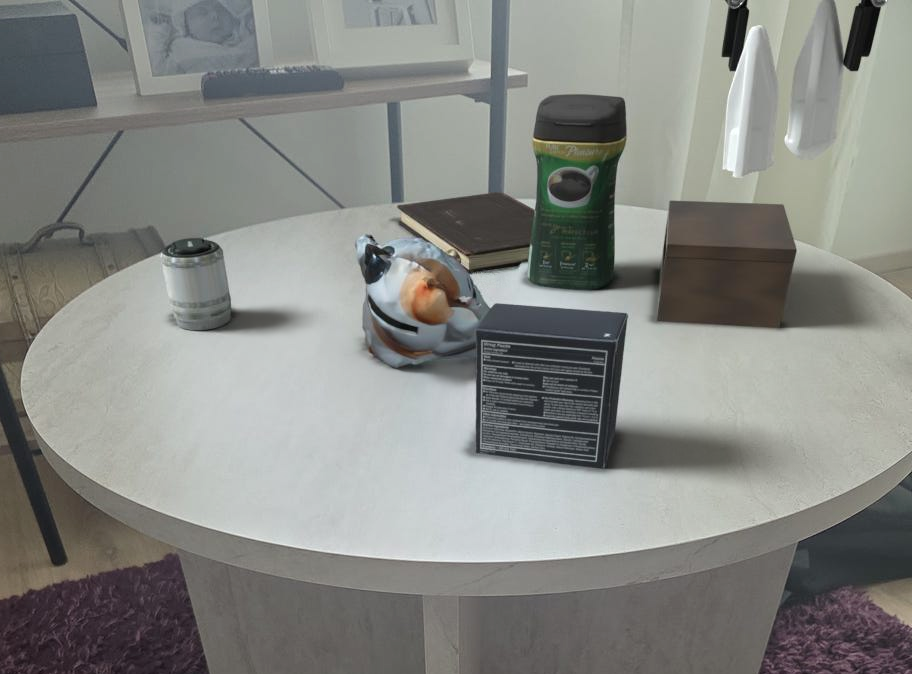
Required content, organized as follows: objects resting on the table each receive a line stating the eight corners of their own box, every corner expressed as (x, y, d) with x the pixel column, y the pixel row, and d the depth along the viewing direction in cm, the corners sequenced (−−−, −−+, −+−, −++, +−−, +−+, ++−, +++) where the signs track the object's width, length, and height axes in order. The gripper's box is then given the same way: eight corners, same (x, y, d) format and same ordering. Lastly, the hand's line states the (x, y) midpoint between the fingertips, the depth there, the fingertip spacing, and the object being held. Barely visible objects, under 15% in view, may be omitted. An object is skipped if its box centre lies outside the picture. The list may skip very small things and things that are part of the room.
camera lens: (228, 306, 100) (215, 231, 95) (238, 326, 95) (226, 248, 90) (170, 315, 98) (154, 238, 93) (178, 335, 94) (162, 256, 89)
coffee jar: (617, 274, 106) (637, 89, 94) (605, 297, 100) (625, 103, 88) (535, 267, 108) (545, 86, 96) (519, 289, 102) (527, 100, 90)
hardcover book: (466, 274, 107) (466, 253, 105) (397, 223, 123) (397, 205, 122) (586, 255, 111) (588, 235, 110) (504, 208, 128) (505, 191, 126)
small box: (616, 437, 75) (632, 309, 68) (605, 475, 70) (620, 341, 63) (491, 422, 77) (494, 297, 71) (472, 458, 72) (473, 328, 66)
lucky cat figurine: (528, 344, 90) (531, 234, 77) (447, 425, 87) (437, 325, 74) (416, 271, 94) (401, 156, 81) (336, 346, 92) (308, 239, 79)
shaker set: (810, 148, 78) (843, -10, 71) (849, 157, 75) (887, -7, 68) (703, 169, 74) (726, 3, 67) (739, 179, 71) (768, 7, 64)
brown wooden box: (767, 280, 103) (783, 204, 98) (778, 333, 91) (797, 249, 86) (659, 274, 105) (669, 200, 100) (655, 326, 93) (667, 244, 88)
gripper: (980, -247, 61) (901, 61, 72) (711, -233, 64) (675, 61, 75) (1013, -260, 55) (921, 76, 66) (716, -244, 58) (676, 76, 69)
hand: (791, 67), depth 70 cm, fingers closed on shaker set, 8 cm apart
